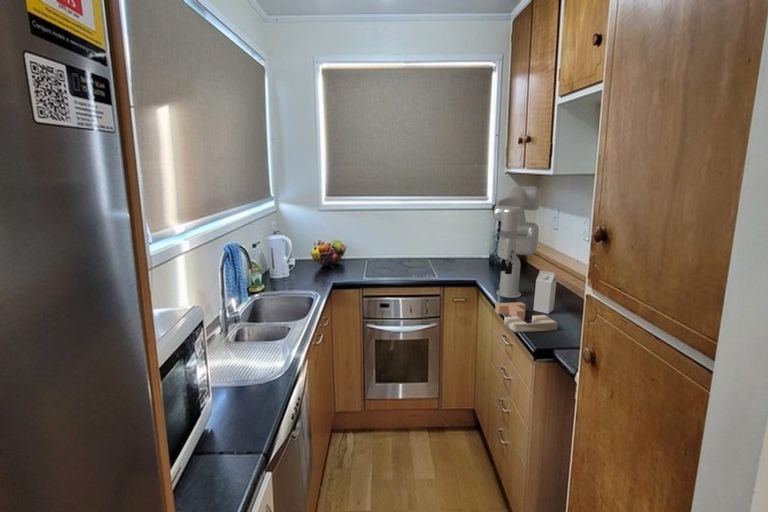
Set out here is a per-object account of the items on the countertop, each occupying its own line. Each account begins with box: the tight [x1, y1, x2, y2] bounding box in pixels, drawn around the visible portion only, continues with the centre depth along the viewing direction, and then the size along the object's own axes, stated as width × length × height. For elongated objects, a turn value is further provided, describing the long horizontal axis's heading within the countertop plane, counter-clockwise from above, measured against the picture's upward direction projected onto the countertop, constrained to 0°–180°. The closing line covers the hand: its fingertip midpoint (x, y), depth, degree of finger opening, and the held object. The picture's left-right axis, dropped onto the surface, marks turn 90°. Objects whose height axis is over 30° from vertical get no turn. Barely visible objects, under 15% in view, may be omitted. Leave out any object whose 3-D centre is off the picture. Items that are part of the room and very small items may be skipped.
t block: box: [494, 301, 527, 321], centre depth 199 cm, size 12×13×4 cm
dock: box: [503, 314, 559, 333], centre depth 185 cm, size 10×19×3 cm, turn 101°
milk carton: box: [533, 269, 558, 314], centre depth 204 cm, size 7×7×19 cm
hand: (505, 272), depth 207 cm, fingers open, 4 cm apart
